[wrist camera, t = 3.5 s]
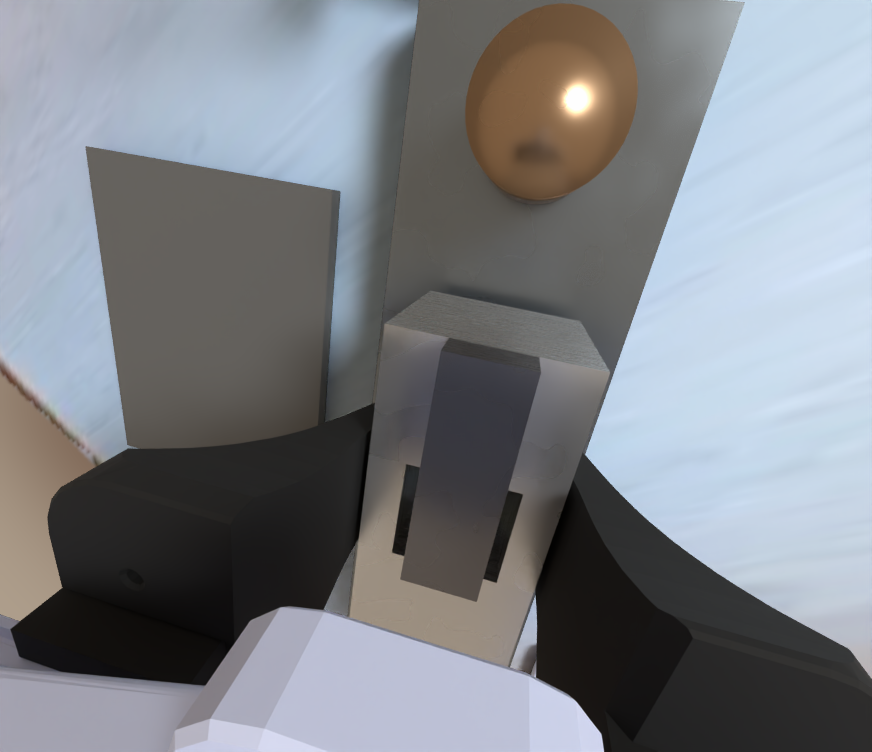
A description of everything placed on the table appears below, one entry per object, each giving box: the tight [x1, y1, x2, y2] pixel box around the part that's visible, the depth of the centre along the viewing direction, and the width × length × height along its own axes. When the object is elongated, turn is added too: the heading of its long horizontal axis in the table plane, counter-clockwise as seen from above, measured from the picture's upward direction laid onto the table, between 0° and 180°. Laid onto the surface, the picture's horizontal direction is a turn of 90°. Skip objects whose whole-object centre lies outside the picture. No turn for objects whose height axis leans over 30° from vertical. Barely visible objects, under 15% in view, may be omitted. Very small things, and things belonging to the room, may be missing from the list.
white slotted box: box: [349, 291, 610, 667], centre depth 10 cm, size 8×4×5 cm, turn 170°
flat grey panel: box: [86, 146, 340, 449], centre depth 16 cm, size 12×9×1 cm
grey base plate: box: [347, 0, 745, 667], centre depth 12 cm, size 22×7×6 cm, turn 170°
